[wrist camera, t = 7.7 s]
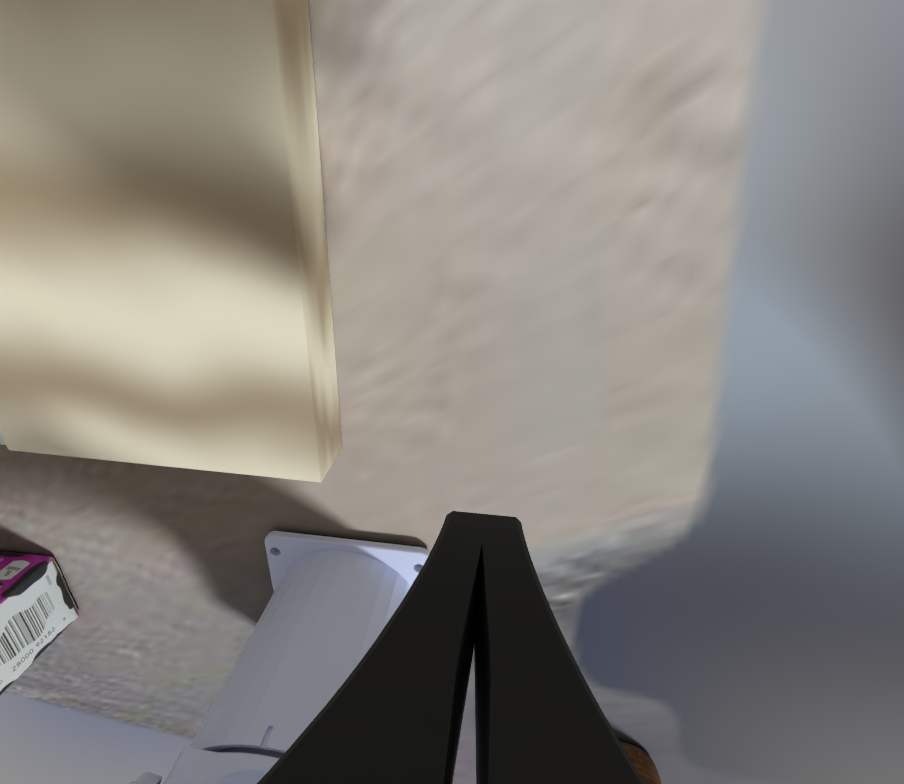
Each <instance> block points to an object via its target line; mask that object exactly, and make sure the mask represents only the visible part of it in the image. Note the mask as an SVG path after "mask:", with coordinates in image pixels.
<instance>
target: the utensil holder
mask: <svg viewBox="0 0 904 784" xmlns="http://www.w3.org/2000/svg"><path fill="white" fill-rule="evenodd" d="M620 743H621V745H622V747H623V748H624V750H625V751H626V753H627V755H628V756H629V758H630V760H631V761H632V763H633V765H634V766H635V768H636V769H637V771H638V773H639V774H640V776H641V778H642V779H643V781H644V782H645V784H661V780H660V777H659V774H658V771H657V769H656V766H655V764H654V763H653V761H652V759H651V758H650V757H649V756H648V755H647V754H646V753H645V752H644V751H643V750H641V749H640V748H638V747H636V746H634V745H631V744H629V743H626V742H622V741H620Z"/></svg>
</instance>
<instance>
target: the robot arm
mask: <svg viewBox="0 0 904 784" xmlns="http://www.w3.org/2000/svg"><path fill="white" fill-rule="evenodd" d="M264 543H265V548H266V554H267V559H268V564H269V570H270V575H271V581H272V586H273V592H274V593H273V595H272V597H271V599H270V601H269V602H268V604H267V606H266V608H265V610H264V612H263V613H262V615H261V617H260V619H259V621H258V622H257V624H256V626H255V628H254V630H253V632H252V633H251V635H250V637H249V639H248V641H247V643H246V644H245V646H244V648H243V650H242V652H241V653H240V655H239V657H238V659H237V661H236V663H235V664H234V666H233V668H232V670H231V672H230V673H229V675H228V677H227V679H226V681H225V683H224V684H223V686H222V688H221V690H220V692H219V694H218V695H217V697H216V699H215V701H214V703H213V704H212V706H211V708H210V710H209V712H208V714H207V715H206V717H205V719H204V721H203V723H202V724H201V726H200V728H199V730H198V732H197V734H196V735H195V737H194V739H193V741H192V743H191V744H190V745H186V746H185V747H184V748H183V750H182V751H181V753H180V755H179V757H178V759H177V760H176V762H175V764H174V766H173V768H172V769H171V771H170V773H169V775H168V777H167V778H166V780H165V782H164V784H452V782H453V775H454V769H455V763H456V756H457V750H458V744H459V738H460V731H461V725H462V719H463V712H464V706H465V700H466V694H467V687H468V681H469V675H470V669H471V662H472V656H473V650H474V651H475V717H476V779H477V784H645V782H644V781H643V779H642V778H641V776H640V774H639V773H638V771H637V769H636V768H635V766H634V765H633V763H632V761H631V760H630V758H629V756H628V755H627V753H626V751H625V750H624V748H623V747H622V745H621V743H620V741H619V740H618V738H617V736H616V734H615V733H614V731H613V729H612V728H611V726H610V724H609V722H608V721H607V719H606V717H605V715H604V714H603V712H602V710H601V708H600V707H599V705H598V703H597V701H596V699H595V697H594V696H593V694H592V692H591V690H590V688H589V686H588V684H587V683H586V681H585V679H584V677H583V675H582V673H581V671H580V669H579V667H578V665H577V663H576V661H575V659H574V657H573V655H572V653H571V651H570V649H569V647H568V645H567V643H566V641H565V639H564V637H563V635H562V632H561V630H560V628H559V626H558V624H557V622H556V619H555V617H554V615H553V612H552V610H551V608H550V605H549V603H548V601H547V599H546V596H545V594H544V592H543V589H542V587H541V584H540V582H539V579H538V577H537V574H536V571H535V568H534V566H533V563H532V560H531V557H530V554H529V551H528V548H527V545H526V541H525V538H524V534H523V530H522V525H521V522H520V521H519V520H518V519H517V518H516V517H508V516H498V515H487V514H477V513H467V512H456V511H452V512H451V513H449V514H448V515H447V516H446V519H445V521H444V524H443V527H442V529H441V531H440V534H439V536H438V538H437V540H436V542H435V544H434V546H433V548H432V550H431V552H429V551H428V550H427V549H425V548H422V547H415V546H406V545H397V544H389V543H380V542H371V541H362V540H353V539H344V538H335V537H326V536H317V535H308V534H300V533H291V532H282V531H271V532H269V533H268V535H267V536H266V538H265V541H264ZM276 548H277V549H276ZM417 564H420V565H422V566H418V565H417ZM161 779H162V777H161V776H159V775H156V774H153V773H151V772H145V773H144V774H142V775H141V776H139V778H138V779H137V780H136V781H133V782H130V783H129V784H160V783H161Z"/></svg>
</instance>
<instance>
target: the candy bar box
mask: <svg viewBox="0 0 904 784" xmlns="http://www.w3.org/2000/svg"><path fill="white" fill-rule="evenodd" d="M78 616H79V612H78V609H77V607H76V605H75V603H74V600H73V598H72V596H71V594H70V592H69V590H68V587H67V585H66V582H65V580H64V578H63V575H62V573H61V570H60V568H59V567H58V565H57V563H56V562H55V560H54V558H53V557H51V556H42V555H33V554H22V553H14V552H4V551H0V695H1V694H2V693H3V692H4V691H5V690H6V689H7V688H8V687H9V686H10V685H11V684H12V683H13V682H14V681H15V680H16V679H17V678H18V677H19V676H20V675H21V674H22V673H23V672H24V671H25V670H26V669H27V668H28V667H29V666H30V665H31V663H32V662H33V661H34V660H35V659H36V658H37V657H38V656H39V655H40V654H41V653H42V652H43V651H44V650H45V649H46V648H47V647H48V646H49V645H50V644H51V643H52V642H53V641H54V640H55V639H56V638H57V637H58V636H59V635H60V634H61V633H62V632H63V631H64V630H65V629H66V628H67V627H68V626H69V625H70V624H71V623H72V622H73V621H74V620H75V619H76V618H77V617H78Z"/></svg>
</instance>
